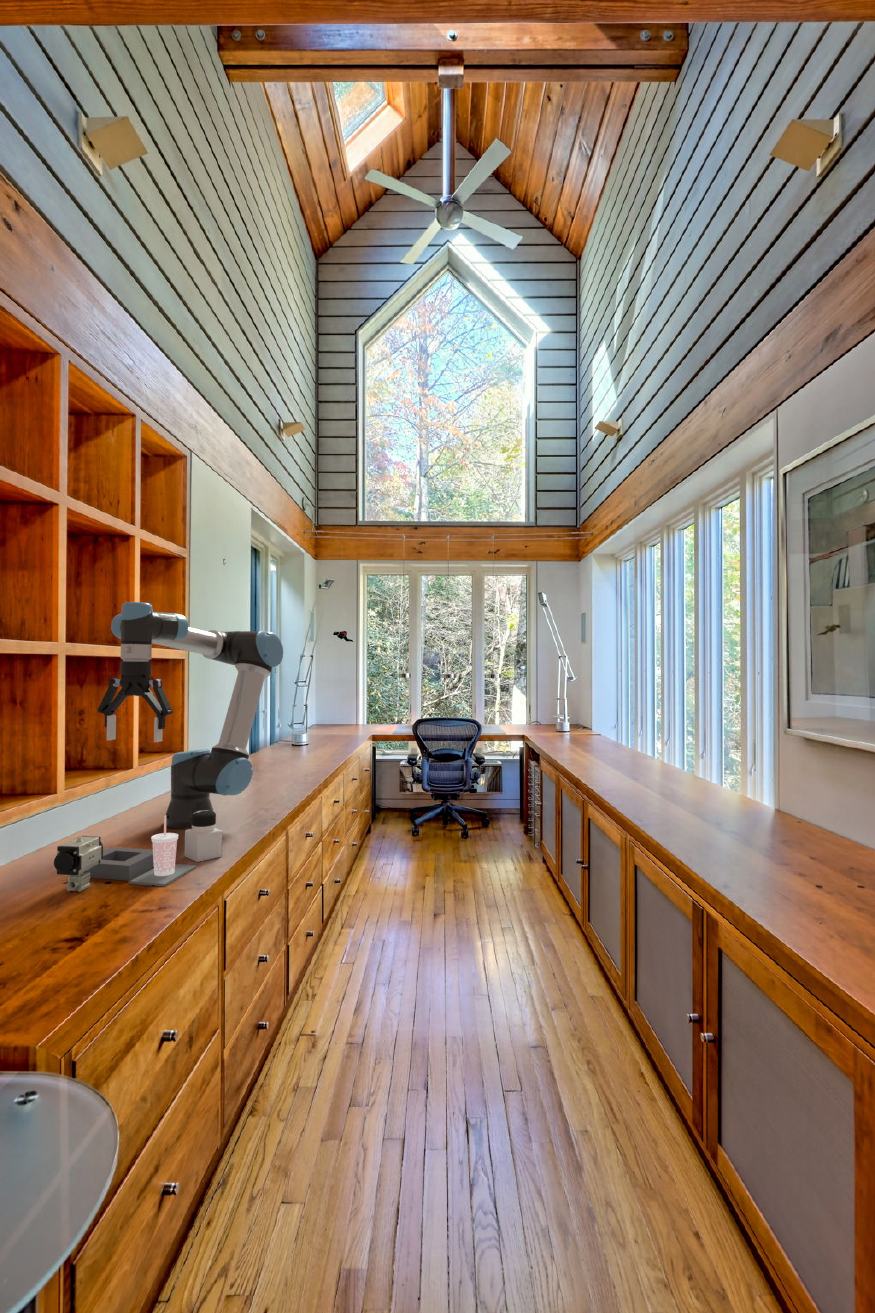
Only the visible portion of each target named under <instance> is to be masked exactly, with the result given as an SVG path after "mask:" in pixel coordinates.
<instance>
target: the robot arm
mask: <svg viewBox="0 0 875 1313" xmlns="http://www.w3.org/2000/svg"><path fill="white" fill-rule="evenodd" d="M120 610H121V612H120V613H119V614H116V615H115V616H114V617H113V618H112V620H111V625H110V630H111V632H112V634H113V636H115V637H116V638H118V639H120V659H121V662H120V663H119V665H120V666H119V668H120V669H119V674H120V679H119V678H117V677H115V678H114V677H112V678H109V680H108V687H107V688H106V690H105V693H104V696H102V697H103V698H102V699H101V702H100V704H99V706H98V708H97V712H98V713H101V714H103V715H104V728H106V741H113V740H116V739H117V715H116V714H115V712H116V711H117V709H118V708H120V706H121V705H122V703H123V702H124V701H125V700H126V698H128V697H130V696H131V697H133V696H135V697H142V698H144V700H145V701H146V703H147V704H148V705H149V706H150V708H151V710H152V711H153V712H154V714H156V716H155V717H153V723H154V724H153V743H159V742H160V743H161V742H163V733H164V732H163V729H164V730H165V728H166V719H167V716H170V715H172V714H173V712H174V711H173V709H172V706H171V704H170V701H169V699H168V697H167V695H166V692H165V690H164V687H163V680H162V679H160V678H156V679H152V678H151V675H152V662H151V661H150V660H152V652H153V651H152V650H153V649H152V646H153V644H154V645H158V646H162V647H163V646H164V647H167V648H171V649H175V650H181V651H185V652H191V653H195V654H200V655H202V656H203V657H204V658H205V659H209V660H213V661H216V662H221V663H223V664H228V665H232V666H234V668H235V669H236V670H237V676H236V679H235V684H234V686H233V690H232V694H231V698H230V701H229V704H228V707H227V712H226V716H225V718H224V723H223V727H222V730H221V734H220V737H219V741H218V743H217V744H215V745H213V746H212V747H211V750H210V749H208V748H207V749H195V750H186V751H179V752H176V753H174V754H173V755H172V756H171V765H170V802H169V804H168V807H167V810H166V812H165V815H166V828H171V829H192V815H193V813H195V812H198V811H205V810H208V811H213V812H215V811H214V808H213V805H212V801H211V797H210V796H211V795H210V794H215V795H221V796H238V795H240V794H241V793H242V792H244V791H245V790H246V789H247V788H248V787H249V785H250V783H251V781H252V778H253V775H254V769H253V765H252V762H251V761H250V760H249V759H250V753H249V752H248V750H247V746H248V743H249V739H250V735H251V731H252V727H253V723H254V720H255V717H256V713H257V710H258V705H259V701H260V698H261V697H260V696H261V693H262V689H263V686H264V682H265V679H266V678H268V677H269V676H271V673H272V671H273V668H276V667H278V666H279V665H280V664H281V662H282V661H283V657H284V648H283V644H282V641H281V639H280V638H279V636H278V635H277V634H276V633H274V632H272V631H267V630H266V631H265V630H251V631H249V630H248V631H247V630H246V631H245V630H242V631H241V630H235V631H220V630H213V629H211V630H208V631H207V630H202V629H200V628H195V627H192V626H189V624H190V623H189V621H188V619H187V617H186V616H184V615H183V614H180V613H176V612H164V611H163V612H162V611H154V610H153V604H151V603H150V602H142V601H141V602H138V601H127V602H124V603H123V604H122V605H121V609H120ZM119 687H121V689H120V690H119V691H118V689H119ZM150 687H151V688H153V691H152V690H151V689H150ZM153 692H154V693H153ZM116 694H117V695H116ZM154 694H155V696H154ZM115 695H116V696H115ZM114 697H115V698H114Z"/></svg>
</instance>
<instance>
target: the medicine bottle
mask: <svg viewBox="0 0 875 1313" xmlns="http://www.w3.org/2000/svg"><path fill="white" fill-rule="evenodd" d="M216 826H217V813H216V812H215V811H214V812H213V811H208V810H205V811H198V812H195V813H193V815H192V828H188V829H186V830H185V831H184V857H186V858H188V859H190V860H192V861H194V862H196V863H199V862H200V861H201V862H204V860H205V861H208V860H215V859H218V858H221V857H223V830H222V829H219V828H216ZM201 862H200V863H201Z"/></svg>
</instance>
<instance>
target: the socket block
mask: <svg viewBox="0 0 875 1313" xmlns="http://www.w3.org/2000/svg"><path fill="white" fill-rule="evenodd" d="M153 867H154V863H153V849H148V848H147V849H145V848H130V847H119V846H118V847H117V846H110V847H107V848H105V849H103V859H101V860H100V863H99V864H97V865H95V866H93V867H91V868H90V869H89V870H87V871H84V872H82V873H87V872H89V873H90V879H91V878H92V879H93V878H94V879H105V880H115V881H116V880H117V881H118V880H119V881H131V880H133V879H135V878H137V877H138V876H140V875H142V874H144V873H146V872H148V871H150V870H152V869H154V868H153Z"/></svg>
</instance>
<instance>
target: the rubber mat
mask: <svg viewBox="0 0 875 1313" xmlns="http://www.w3.org/2000/svg"><path fill="white" fill-rule="evenodd" d="M193 869H194V870H195V869H197V865H193V864H178V863H175V871H174V873H173V874H171V875H167V876H156V875H154V868H152V869H150V870H148V871H146V872H144V873H142V874H140V875H138V876H137V877H135V878H133V879H131V880H129V885H139V886H140V885H141V886H152V885H155V886H154V887H166V885H167V884H168V885H171V882H172V883H174V882H175V881H176V879H177V878H179V879H180V878H182V877H184V876H185V875H187V874H188V873H187V872H189V873H190V872H192V871H193ZM186 873H187V874H186ZM184 874H185V875H184ZM183 875H184V876H183ZM181 876H182V877H181ZM174 880H175V881H174ZM177 880H178V879H177ZM173 881H174V882H173ZM168 885H167V886H168Z"/></svg>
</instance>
